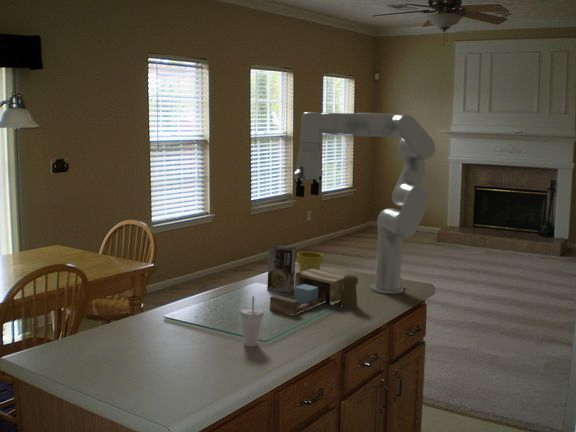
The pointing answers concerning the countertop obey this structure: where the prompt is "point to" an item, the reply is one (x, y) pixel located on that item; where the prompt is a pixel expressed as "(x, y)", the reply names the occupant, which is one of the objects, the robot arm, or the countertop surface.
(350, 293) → the cork
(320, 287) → the tan boxy piece
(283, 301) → the brown wooden frame
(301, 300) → the blue block
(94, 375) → the countertop surface
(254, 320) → the smoothie
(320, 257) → the plant pot
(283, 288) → the coffee box
